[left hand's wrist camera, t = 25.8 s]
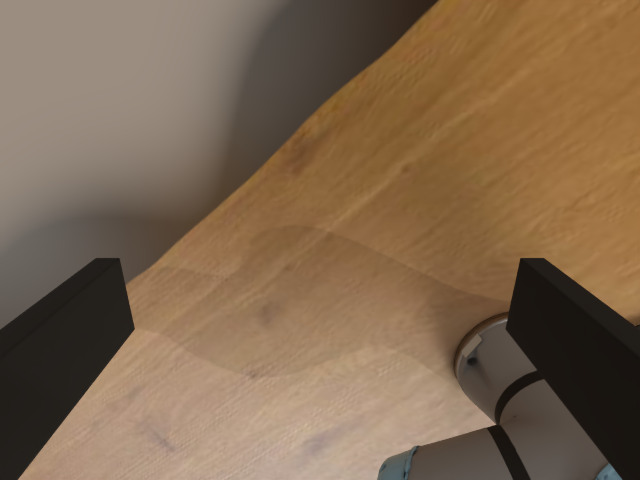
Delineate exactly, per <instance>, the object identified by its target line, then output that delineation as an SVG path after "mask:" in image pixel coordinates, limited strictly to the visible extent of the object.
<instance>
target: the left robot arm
mask: <svg viewBox="0 0 640 480" xmlns="http://www.w3.org/2000/svg"><path fill="white" fill-rule="evenodd" d="M134 329H135V328H134V323H133V319H132V314H131V309H130V305H129V300H128V296H127V291H126V286H125V282H124V277H123V272H122V268H121V263H120V259H119V258H96V259H94V260H93V261H92V262H90V263H89V264H88V265H86V266H85V267H84V268H82V269H81V270H80V271H78V272H77V273H76V274H74V275H73V276H71V277H70V278H69V279H67V280H66V281H65V282H63V283H62V284H61V285H60V286H58V287H57V288H55V289H54V290H53V291H51V292H50V293H49V294H48V295H46V296H45V297H43V298H42V299H41V300H40V301H38V302H37V303H35V304H34V305H33V306H31V307H30V308H29V309H27V310H26V311H25V312H23V313H22V314H21V315H19V316H18V317H17V318H15V319H14V320H13V321H11V322H10V323H9V324H7V325H6V326H5V327H3V328H2V329H1V330H0V480H18V479H19V477H20V476H21V475H22V474H23V472H24V471H25V470H26V468H27V467H28V466H29V465H30V463H31V462H32V461H33V459H34V458H35V457H36V456H37V454H38V453H39V452H40V450H41V449H42V448H43V447H44V445H45V444H46V443H47V441H48V440H49V439H50V438H51V436H52V435H53V434H54V432H55V431H56V430H57V428H58V427H59V426H60V425H61V423H62V422H63V421H64V419H65V418H66V417H67V416H68V414H69V413H70V412H71V410H72V409H73V408H74V407H75V405H76V404H77V403H78V401H79V400H80V399H81V398H82V396H83V395H84V394H85V392H86V391H87V390H88V389H89V387H90V386H91V385H92V383H93V382H94V381H95V380H96V378H97V377H98V376H99V374H100V373H101V372H102V371H103V369H104V368H105V367H106V365H107V364H108V363H109V362H110V360H111V359H112V358H113V356H114V355H115V354H116V353H117V351H118V350H119V349H120V347H121V346H122V345H123V344H124V342H125V341H126V340H127V338H128V337H129V336H130V335H131V333H132V332H133V331H134ZM454 368H455V374H456V377H457V379H458V382H459V384H460V386H461V388H462V390H463V391H464V393H465V394H466V395H467V396H468V398H469V399H470V400H471V401H472V402H473V403H474V404H475V405H476V406H477V407H479V408H480V409H481V410H482V411H483V412H484V413H485V414H486V415H487V416H488V417H489V418H490V419H491V420H492V421H493V422H494V423H496V425H494V426H491V427H487V428H483V429H480V430H476V431H473V432H469V433H466V434H463V435H459V436H456V437H452V438H449V439H446V440H442V441H438V442H435V443H431V444H427V445H424V446H414V447H413V448H412V449H411V450H408V451H406V452H403V453H400V454H397V455H394V456H392V457H389V458H388V459H386V460H385V461H384V463H383V464H382V466H381V468H380V470H379V474H378V478H377V480H640V325H637V326H634V325H633V324H631V323H630V322H629V321H627V320H626V319H625V318H623V317H622V316H621V315H619V314H618V313H617V312H615V311H614V310H613V309H611V308H610V307H609V306H607V305H606V304H605V303H603V302H602V301H601V300H599V299H598V298H597V297H595V296H594V295H593V294H591V293H590V292H589V291H587V290H586V289H585V288H583V287H582V286H581V285H579V284H578V283H577V282H575V281H574V280H573V279H571V278H570V277H569V276H567V275H566V274H564V273H563V272H562V271H560V270H559V269H558V268H556V267H555V266H554V265H552V264H551V263H550V262H548V261H547V260H546V259H544V258H520V263H519V268H518V272H517V277H516V282H515V286H514V291H513V296H512V300H511V305H510V309H509V312H506V313H502V314H499V315H496V316H494V317H491V318H489V319H487V320H485V321H483V322H482V323H480V324H479V325H477V326H476V327H475V328H474V329H472V330H471V331H470V332H469V333H468V334H467V335H466V337H465V338H464V339H463V341H462V342H461V344H460V346H459V347H458V350H457V352H456V356H455V361H454Z"/></svg>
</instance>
